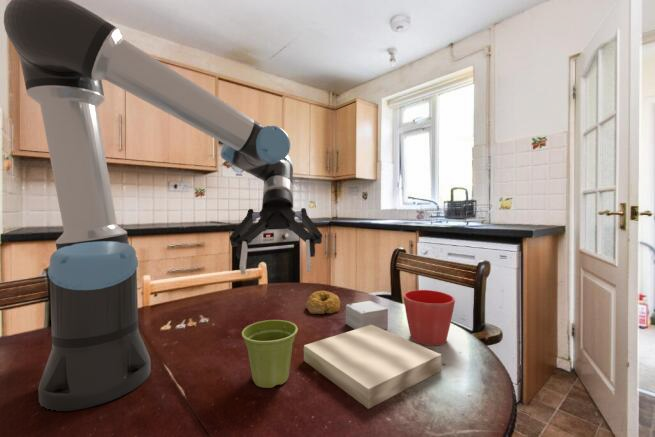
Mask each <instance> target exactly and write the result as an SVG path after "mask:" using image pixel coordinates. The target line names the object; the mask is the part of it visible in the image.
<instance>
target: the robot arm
mask: <svg viewBox="0 0 655 437" xmlns="http://www.w3.org/2000/svg"><path fill="white" fill-rule="evenodd" d="M3 26H4V31H5V33H6V35H7V37H8V39H9V41H10V42H11V44H12V46H13V47H14V49H15V51H16V52H17V54H18V56H19V61H20V66H21V72H22V75H23V80H24V85H25V90H26V95H27V96H28V97H29V98H31V99H32V100H33V101H34V102H36V103H37V104H39V105H40V112H41V116H42V123H43V127H44V132H45V138H46V144H47V148H48V154H49V160H50V164H51V169H52V174H53V181H54V186H55V191H56V192H55V193H56V197H57V202H58V207H59V213H60V218H61V222H62V223H61V224H62V229H63V233H61V235H60V236H59V237H58V238H57V239H56V241H55V248H56V250H55V251H53V252H52V254H51V255H50V257H49V266H48V268H47V276H48V278H49V287H50V289H49V292H50V320H51V351H50V353H49V357H48V359H47V362H46V364H45V367H44V370H43V373H42V376H41V377H40V378H41V379H40V381H39V384H38V390H37V391H38V403H40V404H39V405H40V407H42V406H43V407H45V408H48V409H51V410H50V411H53V410H56V411H55V412H69V411H70V412H71V411H77V410H83V409H88V408H92V407H96V406H99V405H102V404H106V403H108V402H111V401H114V400H115V399H116V400H117V399H118V398H121V397H122V396H125V395H126V394H128V393H130V392H132V391H134V390H136V388H138V387H139V386H141V385H142V384H143V383H144V382H146V380H147V379H148V378H149V377H150V374H151V368H152V367H151V356H150V355H149V354H150V353H149V352H148V349H147V346H146V345H145V342H144V340H143V338H142V336H141V333H140V331H139V308H138V307H139V304H138V267H139V266H138V265H139V261H138V257H137V252H136V249H135V247H133V246H132V245H131V244H130V243H129V237H128V231H127V230H125V229H123V228H122V227H120V226H119V225H118V223H117V217H116V213H115V212H116V211H115V206H114V201H113V200H114V199H113V193H112V188H111V182H110V176H109V170H108V164H107V159H106V158H107V157H106V153H105V147H104V141H103V135H102V129H101V124H100V116H99V112H98V108H99V106H101V105H102V104H103V103H104V102H105V95H104V94H105V93H104V88H103V81H106V82H109V83H111V84H113V85H114V86H116V87H118V88H120V89H122V90H124V91H126V92H127V93H129V94H131V95H133V96H135V97H136V98H138V99H140V100H142V101H144V102H145V103H148V104H149V105H151V106H154V107H155V108H157V109H160V110H161V111H163V112H165V113H167V114H168V115H170V116H172V117H174V118H175V119H178V120H180V121H181V122H183V123H186V124H187V125H189V126H190V127H192V128H195V129H196V130H198V131H200V132H202V133H203V134H206V135H207V136H210V137H211V138H213V139H215V140H217V141H219V142H220V143H222V144H223V145H222V147H221V150H220V157H221V158H222V159H223V160H224V161H226V162H227V163H229V164H230V165H232V166H234V167H236V168H238V169H240V170H242V171H243V172H246V173H248V174H250V175H252V176H254V177H255V178H258V179H259V180H261V181H262V182H263V191H262V203H261V204H262V205H261V210H260V211H254V209H253V208H249V209H248V210H247V213H246V216H245V217H244V218H243V219H242V220H241V222H240V223H239V225H238V226H237V227H236V228H235V229H234V231H233V232H232V233H231V235H230V236H229V242H230V246H232V247H236V252H235V253H236V254H235V255H236V257H237V260H239V271H240V274H241V275H245V274H246V269H247V259H248V249H249V248H248V245H249V244H250V243H251V242H253V241H254V240H255V239H256V238H257V237H258V236H259V235H260V234H261V233H263V232H266V231H267V230H268V229H269V228H270V229H271V230H275V229H283V230H284V229H285V228H287V230H289V231H292V232H293V233H294V235H296V236H297V237H299V238H300V239H301V240H302V241H303V242H304V243H305V258H306V261H305V262H306V272H312V271H311V268H312V263H311V262H312V260H311V258H313V257H315V256H316V244H318V245H320V244H322V241H323V234H322V233H321V231H320V230H319V228H318V227H317V225H316V224H315V223H314V222H313V220H312V219H311V218H310V217H309V215H308V213H307V212H308V211H307V209H306V208H304V207H302V208H301V209H300V210H298V211H297V210H296V211H295V209H294V193H293V192H294V188H293V187H294V186H293V184H294V183H293V178H294V177H293V176H294V175H293V174H294V168H293V167H294V166H293V162H292V159H291V157H290V155H289V153H290V150H291V141H290V140H291V139H290V137H289V135H288V133H287V132H286V130H284V129H283V128H281V127H280V126H276V125H268V126H267V125H266V126H265V125H263V124H261V123H260V122H259V121H257V120H254V119H253V118H252V117H250V116H249V115H247V114H245V113H243V112H242V111H241V110H239V109H237V108H235V107H234V106H232V105H230V104H229V103H227V102H225V101H224V100H223V99H220V98H219V97H217V96H216V95H214V94H213V93H211V92H210V91H207V90H206V88H205V89H204V88H203V87H202V86H200V85H198V84H197V83H195V82H194V81H192V80H191V79H188V77H186V76H184V75H183V74H181V73H179V72H177V71H176V70H174V69H173V68H171V67H170V66H168V65H166V64H165V63H162V62H161V61H160V60H158V59H157V58H155V57H154V56H151V55H150V54H148V53H147V52H146V51H144V50H142V49H140V48H138V47H137V46H135V45H134V44H132V43H131V42H129V41H128V40H126V39H125V37H124V36H123V35H122V32H121V30H120V29H119V28H118V27H116V26H115V25H114V24H112V23H110V22H109V21H107V20H106V19H104V18H102V17H100V15H97V14H96V13H94V12H92V10H91V11H90V10H89V9H87V8H86V7H84V6H82V5H80V4H78V3H76V2H74V1H72V0H10V1H9V2H8V4H7V5H6V7H5V10H4V14H3ZM296 218H298V220H299V221H300V222H302V224H303V226H304V227H303V226H302V225H301V224H299V223H298V222H297V221H296ZM257 219H258V221H257ZM256 221H257V222H256ZM255 222H256V223H255ZM253 223H255V224H254V225H253ZM252 225H253V226H252ZM43 407H42V408H43ZM45 408H44V409H45ZM48 409H47V410H48Z"/></svg>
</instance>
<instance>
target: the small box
mask: <svg viewBox="0 0 655 437" xmlns="http://www.w3.org/2000/svg"><path fill="white" fill-rule="evenodd" d="M388 310H389V309H388V308H387V307H385V306H382V305H380V304H378V303H376V302H374V301H371V300H364V301H361V302H355V303H348V304H345V324H346V325H347V326H349V327H350V328H352V329H353V330H355V329H358V328H362V327H365V326H368V325H374V326H376V327H378V328H381V329H383V330H386V329H387V330H388V328H389V326H388V325H389V321H388V320H389V318H388V316H389V315H388V314H389V313H388V312H389V311H388Z"/></svg>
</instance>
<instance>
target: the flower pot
mask: <svg viewBox="0 0 655 437" xmlns="http://www.w3.org/2000/svg"><path fill="white" fill-rule="evenodd" d="M402 297H403V303H404V308H405V315H406V320H407V325H408V330H409V335H410V338H411V339H412V340H413V342H415V343H417V344H419V345H425V346H436V345H437V346H441V345H444V344H445V343H446V342H447V340H448V335H449V332H450V326H451V322H452V317H453V313H454V309H455V308H454V307H455V303H456V299H455V297H454V296H452V295H451V294H448V293H445V292H441V291H437V290H431V289H430V290H429V289H413V290H409V291H407V292H405V293H403V296H402Z"/></svg>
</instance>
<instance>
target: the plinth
mask: <svg viewBox="0 0 655 437" xmlns="http://www.w3.org/2000/svg"><path fill="white" fill-rule="evenodd" d="M303 361H304V362H305V363H306V364H308V365H309V366H311V368H313V369H314V370H315V371H317V372H319V374H321V375H322V376H323V377H325V378H326V379H328V380H329V381H331V382H332V383H333V384H334V385H336V386H337V387H338V388H340V389H341V390H343V391H344V392H345V393H347V395H349V396H350V397H351V398H353V399H354V400H356V401H357V402H358V403H360V404H361V405H362V406H364V407H365V408H366V409H371V408H373V407H375V406H376V405H380V404H381V403H382V402H385V401H387V400H388V399H390V398H392V397H394V396H397V395H398V394H400V393H402V392H404V391H406V390H408V389H410V388H411V387H414V386H415V385H417V384H419V383H420V382H423V381H425V380H426V379H428V378H431V377H433V376H434V375H437V373H438V374H439V373H440V372H442V354H441V353H439V352H436V351H434V350H431V349H429V348H427V347H425V346H422V345H421V344H419V343H417V342H414V341H413V342H412V341H410V340H408V339H406V338H404V337H401V336H399V335H397V334H394V333H392V332H390V331H388V330H386V329H381V328H378V327H376V326H374V325H368V326H365V327H362V328H358V329H353V330H350V331H346V332H343V333H342V332H341V333H338V334H336V335H333V336H329V337H325V338H323V339H320V340H316V341H314V342H311V343H307V344H304V345H303Z"/></svg>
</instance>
